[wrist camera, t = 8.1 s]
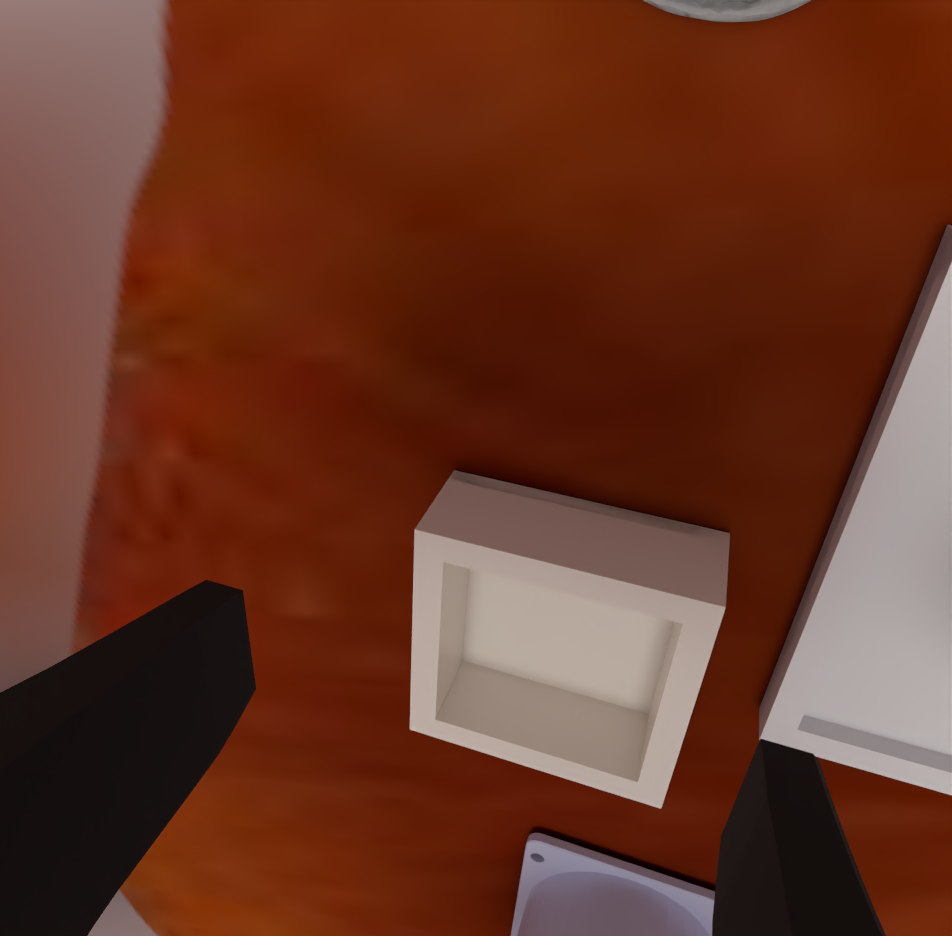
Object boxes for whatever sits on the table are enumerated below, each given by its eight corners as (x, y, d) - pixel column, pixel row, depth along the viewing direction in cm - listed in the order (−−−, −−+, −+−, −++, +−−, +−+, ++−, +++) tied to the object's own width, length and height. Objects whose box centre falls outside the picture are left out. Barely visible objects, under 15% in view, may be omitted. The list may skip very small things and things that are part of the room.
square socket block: (671, 726, 24) (661, 809, 21) (443, 660, 25) (409, 729, 23) (730, 533, 20) (725, 607, 17) (454, 470, 21) (414, 529, 19)
